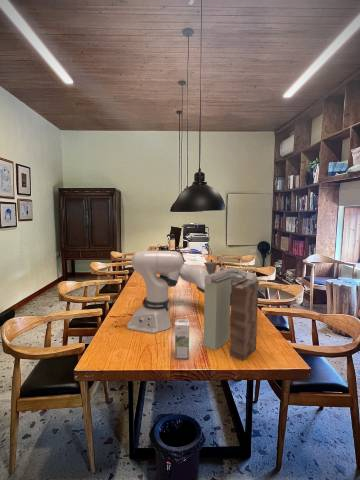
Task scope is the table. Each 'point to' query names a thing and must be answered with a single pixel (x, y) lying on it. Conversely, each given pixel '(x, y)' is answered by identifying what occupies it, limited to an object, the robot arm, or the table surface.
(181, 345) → the syrup box
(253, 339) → the walnut stand
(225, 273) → the steel bar
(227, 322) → the sage stand
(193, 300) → the table surface
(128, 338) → the table surface
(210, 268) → the coffeepot
